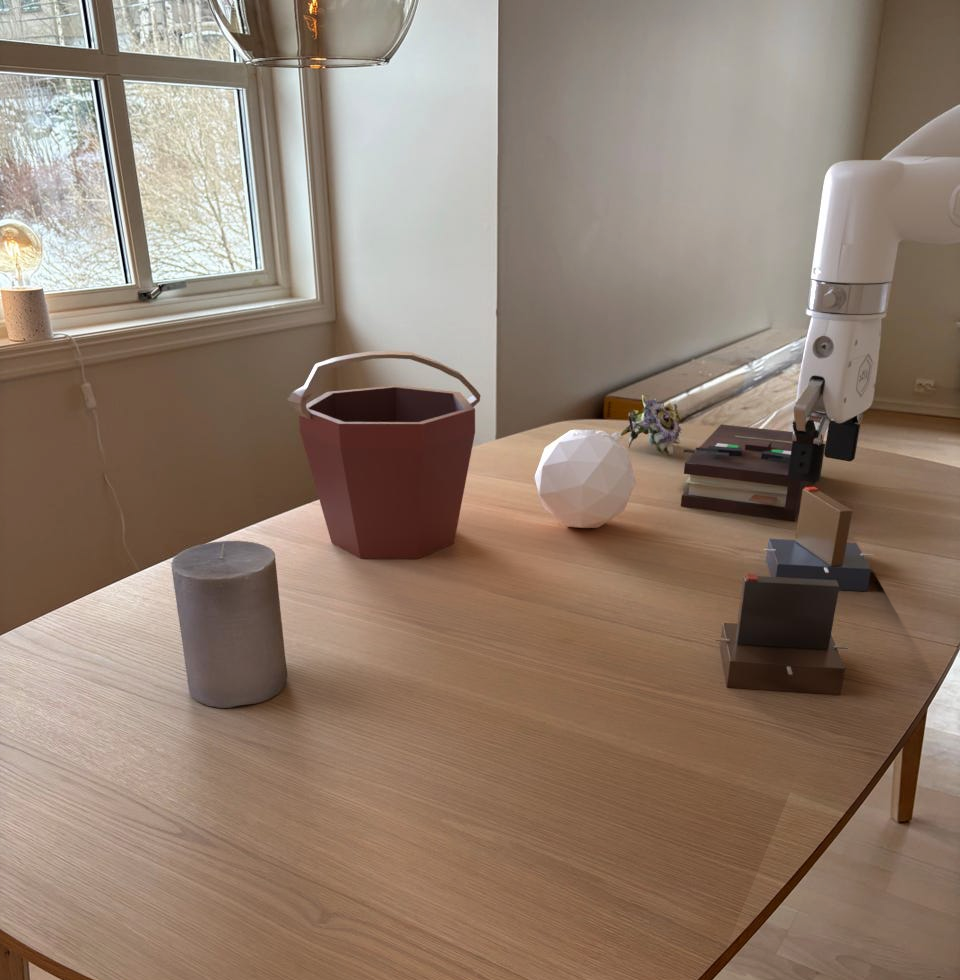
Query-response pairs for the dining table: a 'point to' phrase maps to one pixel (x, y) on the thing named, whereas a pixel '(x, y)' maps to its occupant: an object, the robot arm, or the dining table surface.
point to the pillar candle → (230, 622)
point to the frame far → (823, 526)
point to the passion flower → (656, 425)
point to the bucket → (388, 460)
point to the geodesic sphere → (585, 478)
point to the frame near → (786, 612)
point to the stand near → (780, 666)
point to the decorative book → (744, 474)
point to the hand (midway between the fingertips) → (821, 469)
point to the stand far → (817, 565)
